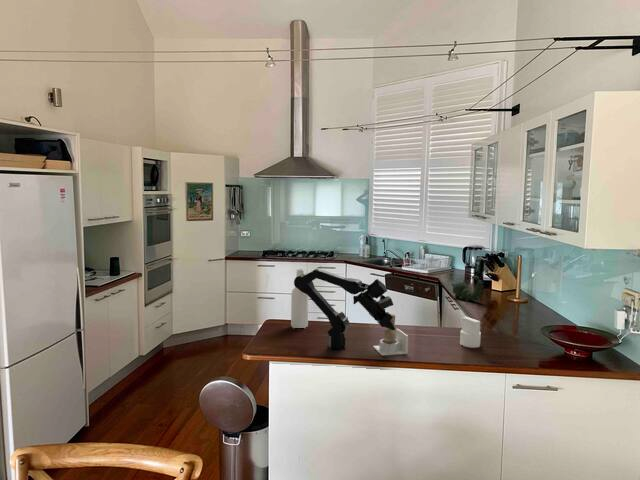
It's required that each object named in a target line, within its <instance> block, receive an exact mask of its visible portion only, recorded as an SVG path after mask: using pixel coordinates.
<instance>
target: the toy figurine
mask: <svg viewBox="0 0 640 480" xmlns="http://www.w3.org/2000/svg"><path fill="white" fill-rule="evenodd" d="M471 279H472V280H473V279H475V280H476V281H477V283H476V285H475V288H474V291H471V290H470V289H469V288H468V287H467V285H466V284H465V283H463V282H460V281H458V282H456V283H450V285H451V287H452V293H453V294H454V297H455V298H456V299H461V300H463V301H464V300H465V301H466V302H469V301H472V302H475V301H477V302H478V301H479V298H482V297H483V294H481V293H483V292H484V290H483V289H482V288H484V285H483V284H485V282H484V281H483V280H481V279H480V277H479V276H477V275H473V276H472V277H471Z"/></svg>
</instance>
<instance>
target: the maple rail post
mask: <svg viewBox="0 0 640 480" xmlns="http://www.w3.org/2000/svg"><path fill="white" fill-rule="evenodd" d="M389 314H390V315H391V316H392V317H393V318H392V319H391V320H390V321H391V322H392V324H393V326H394V327H395V328H396V314H394V313H389ZM395 330H396V329H395ZM395 330H391V329H389V328H386V327H384V331H383V332H384V334H383V335H384V336H383V339H384V343H387V344H394V339H395V335H396V331H395Z"/></svg>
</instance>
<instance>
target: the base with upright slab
mask: <svg viewBox="0 0 640 480" xmlns="http://www.w3.org/2000/svg"><path fill="white" fill-rule="evenodd" d="M461 318H462V320H461V330H460V332H459V334H460V336H459V344H460V345H461V346H462V345H463V346H462V347H465V348H472V349H473V348H474V349H475V348H480V347H481V339H482V338H481V336H482V335H481V334H482V333H481V321H480V320H477V319H474V318H471V317H469V316H463V317H461Z"/></svg>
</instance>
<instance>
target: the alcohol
mask: <svg viewBox="0 0 640 480" xmlns="http://www.w3.org/2000/svg"><path fill="white" fill-rule="evenodd" d="M295 273H296V277H298V276H300V275H303V274H305V269H304V268H303V269H302V268H297V269H296V272H295ZM296 277H295V278H296ZM290 296H291V297H290V298H291V301H290V302H291V303H290V308H291V309H290V326H291V328H292V329H295V328H304V329H307V328H308V326H309V296H308V295H307V294H305V293H303V292H301V291H300V290H299V289H297V288H296V287H295V286H294V288H293V289H292V290H291V295H290ZM306 327H307V328H306Z"/></svg>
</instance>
